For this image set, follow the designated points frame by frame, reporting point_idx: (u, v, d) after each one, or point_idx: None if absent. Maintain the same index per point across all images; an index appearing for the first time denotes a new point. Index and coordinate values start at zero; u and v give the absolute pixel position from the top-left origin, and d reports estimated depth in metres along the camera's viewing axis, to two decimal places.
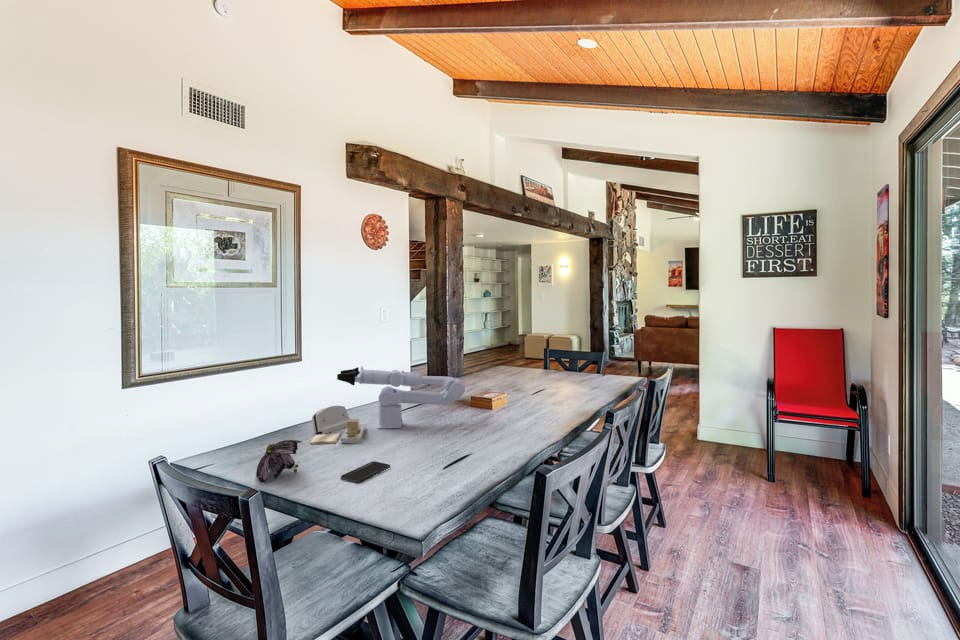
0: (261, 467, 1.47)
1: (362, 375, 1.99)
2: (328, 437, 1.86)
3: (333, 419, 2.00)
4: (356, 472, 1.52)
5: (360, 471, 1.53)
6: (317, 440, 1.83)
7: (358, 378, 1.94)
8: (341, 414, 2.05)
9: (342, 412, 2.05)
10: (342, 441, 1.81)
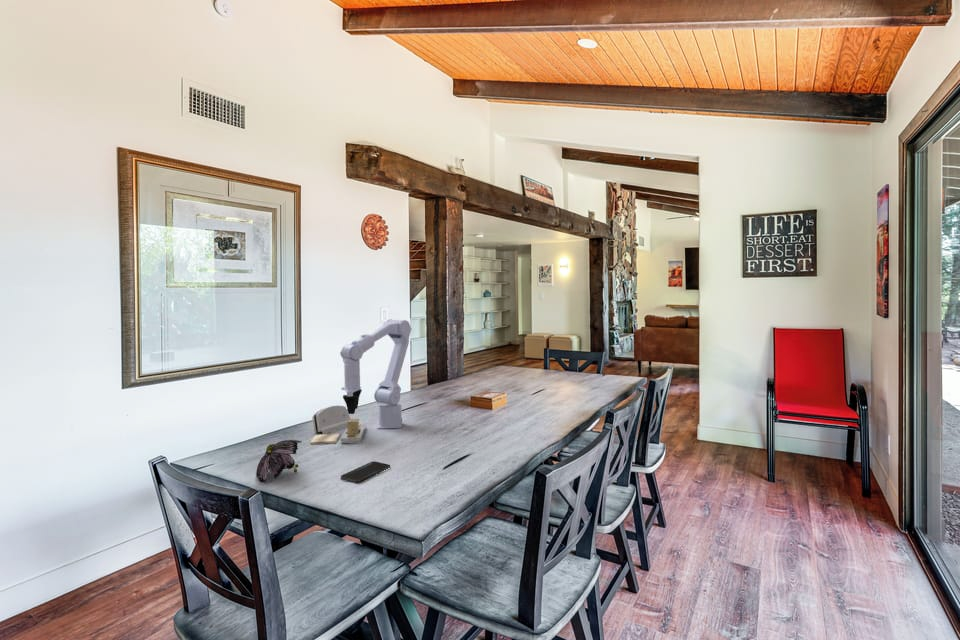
0: (261, 467, 1.47)
1: (348, 387, 1.85)
2: (328, 437, 1.86)
3: (333, 419, 2.00)
4: (356, 472, 1.52)
5: (360, 471, 1.53)
6: (317, 440, 1.83)
7: (348, 392, 1.81)
8: (342, 413, 2.05)
9: (343, 412, 2.05)
10: (342, 441, 1.81)
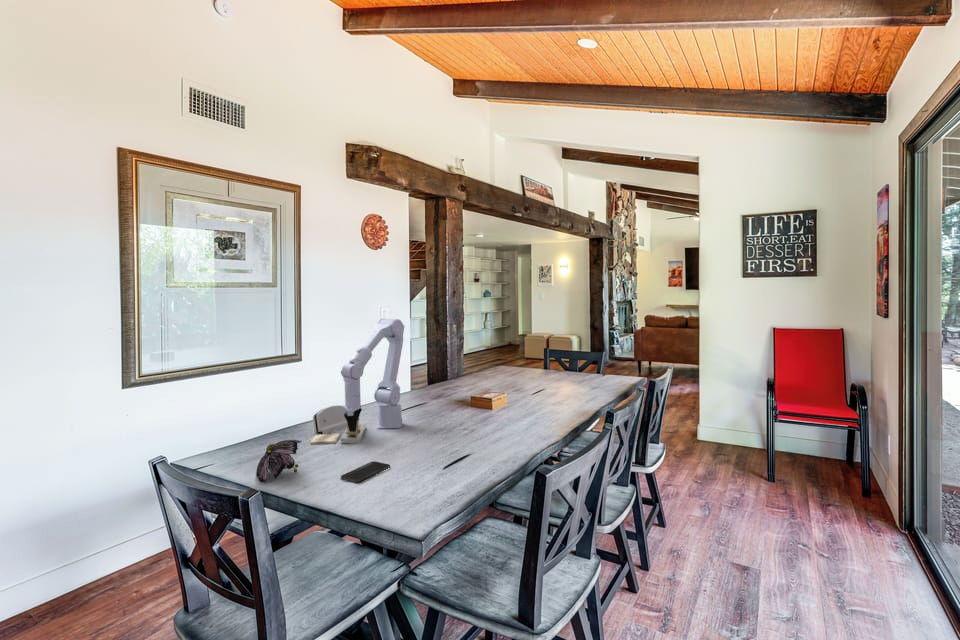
0: (261, 467, 1.47)
1: (349, 406, 1.86)
2: (328, 437, 1.86)
3: (334, 419, 2.00)
4: (356, 472, 1.52)
5: (360, 471, 1.53)
6: (317, 440, 1.83)
7: (348, 412, 1.82)
8: (342, 413, 2.05)
9: (343, 412, 2.05)
10: (342, 441, 1.81)
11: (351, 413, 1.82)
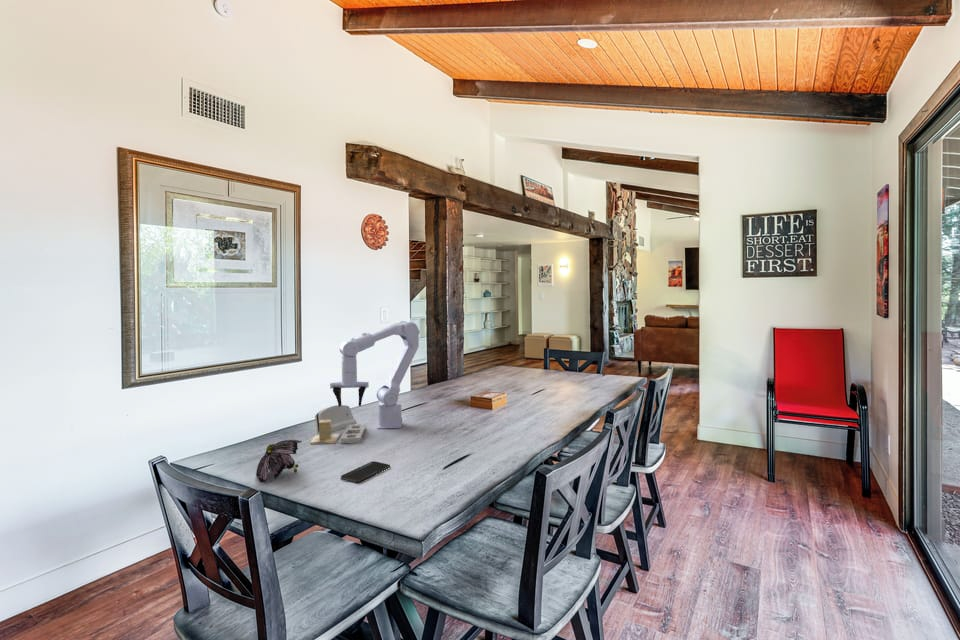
0: (261, 467, 1.47)
1: None
2: None
3: (336, 418, 2.01)
4: (356, 472, 1.52)
5: (360, 471, 1.53)
6: (317, 440, 1.83)
7: None
8: (345, 413, 2.05)
9: (346, 411, 2.06)
10: (342, 441, 1.81)
11: (330, 386, 1.94)
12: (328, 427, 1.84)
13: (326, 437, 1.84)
